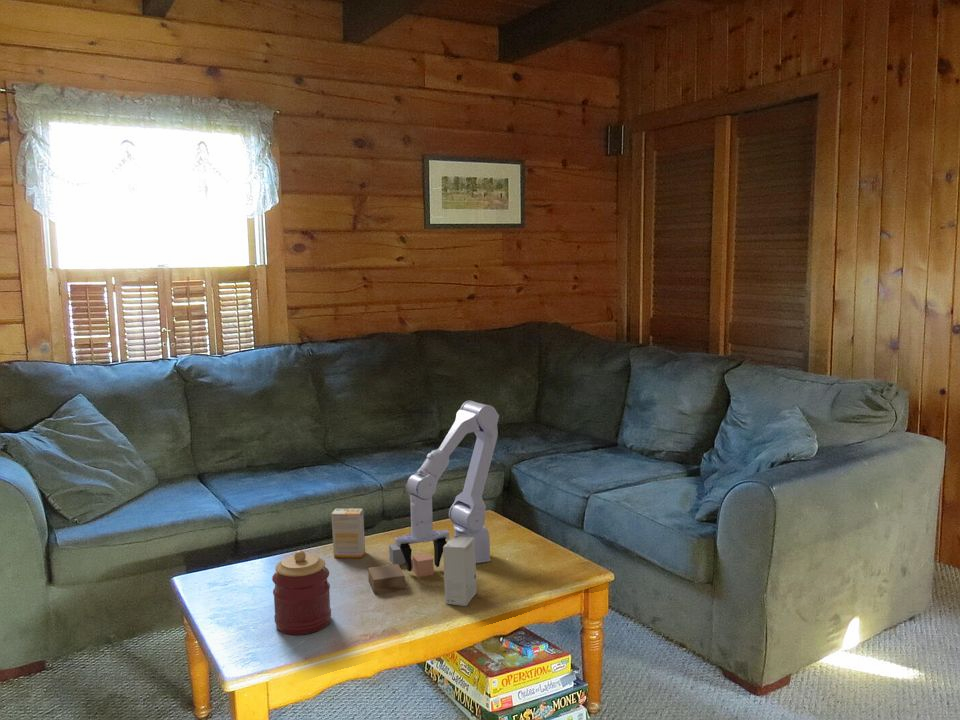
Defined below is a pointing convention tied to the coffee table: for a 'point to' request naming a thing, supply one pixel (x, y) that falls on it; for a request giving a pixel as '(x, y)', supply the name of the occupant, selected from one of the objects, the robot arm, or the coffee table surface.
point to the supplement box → (348, 533)
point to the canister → (301, 594)
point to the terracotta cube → (423, 565)
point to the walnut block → (386, 578)
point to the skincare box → (459, 570)
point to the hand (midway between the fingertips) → (423, 567)
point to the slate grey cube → (396, 555)
